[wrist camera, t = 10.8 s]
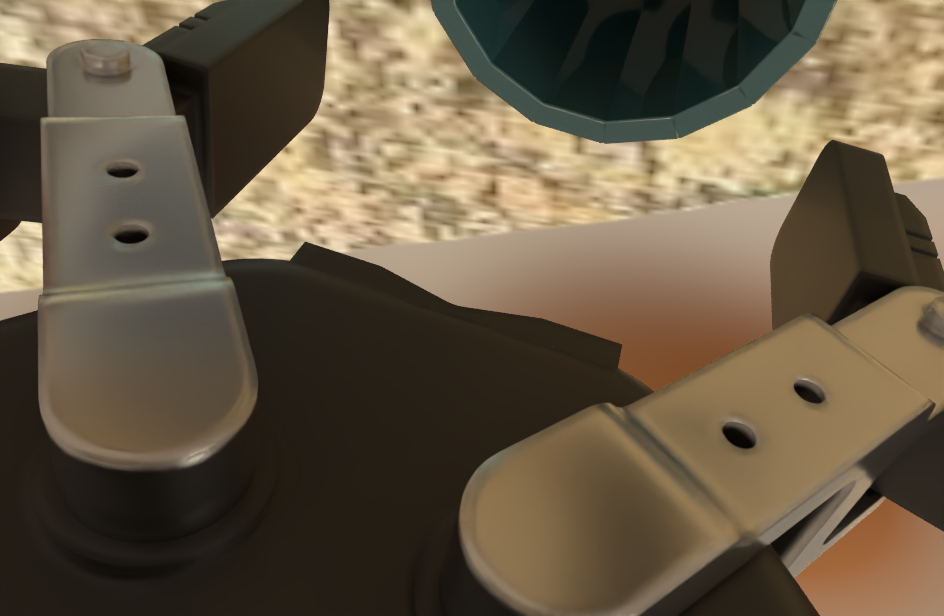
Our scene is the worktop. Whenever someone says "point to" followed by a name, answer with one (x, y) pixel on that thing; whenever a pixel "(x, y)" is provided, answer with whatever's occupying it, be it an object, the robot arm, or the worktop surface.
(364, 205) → the worktop surface
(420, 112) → the worktop surface
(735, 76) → the canister
